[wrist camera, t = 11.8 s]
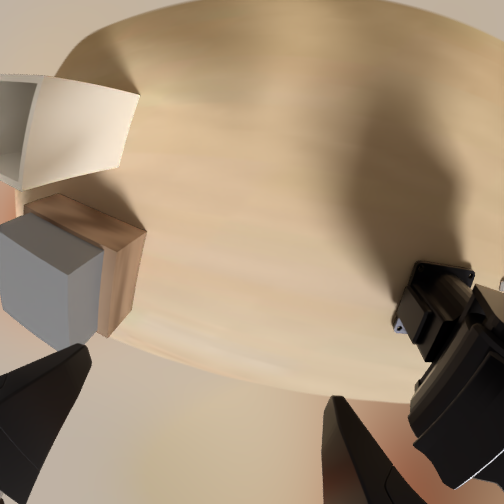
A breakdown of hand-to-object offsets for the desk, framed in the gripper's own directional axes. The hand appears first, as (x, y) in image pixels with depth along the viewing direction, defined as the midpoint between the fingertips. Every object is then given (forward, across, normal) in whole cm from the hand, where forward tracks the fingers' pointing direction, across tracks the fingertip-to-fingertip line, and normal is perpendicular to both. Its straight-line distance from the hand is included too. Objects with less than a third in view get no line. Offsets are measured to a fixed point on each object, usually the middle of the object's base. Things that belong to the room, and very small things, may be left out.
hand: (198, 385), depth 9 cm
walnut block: (+13, +14, +2) cm, 19 cm away
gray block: (+8, +14, +2) cm, 16 cm away
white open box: (+13, +13, -9) cm, 20 cm away
